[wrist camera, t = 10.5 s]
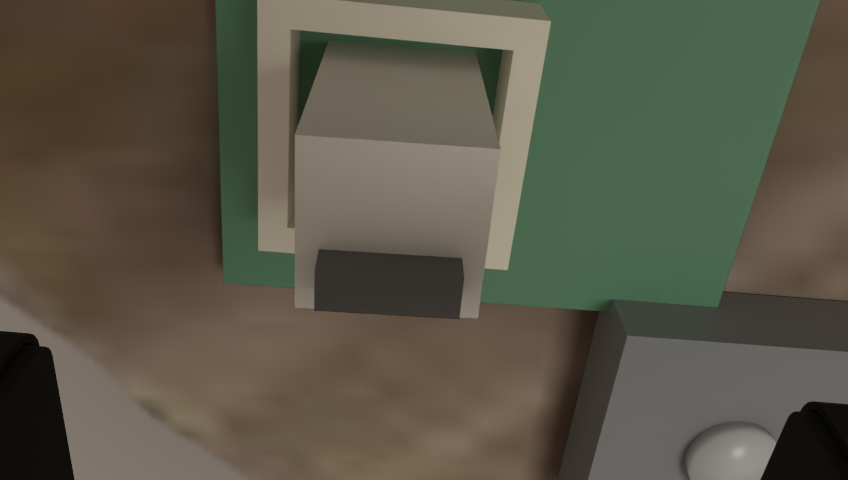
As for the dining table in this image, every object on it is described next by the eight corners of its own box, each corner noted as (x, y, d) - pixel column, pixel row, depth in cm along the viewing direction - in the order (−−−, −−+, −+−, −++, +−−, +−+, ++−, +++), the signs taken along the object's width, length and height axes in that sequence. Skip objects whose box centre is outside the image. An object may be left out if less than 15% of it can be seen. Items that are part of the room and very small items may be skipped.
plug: (328, 40, 21) (288, 151, 14) (475, 51, 21) (505, 165, 15) (326, 175, 23) (289, 329, 16) (460, 184, 23) (480, 340, 16)
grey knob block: (605, 282, 26) (632, 347, 23) (864, 302, 27) (924, 368, 24) (557, 477, 31) (574, 554, 27) (780, 491, 31) (822, 569, 28)
